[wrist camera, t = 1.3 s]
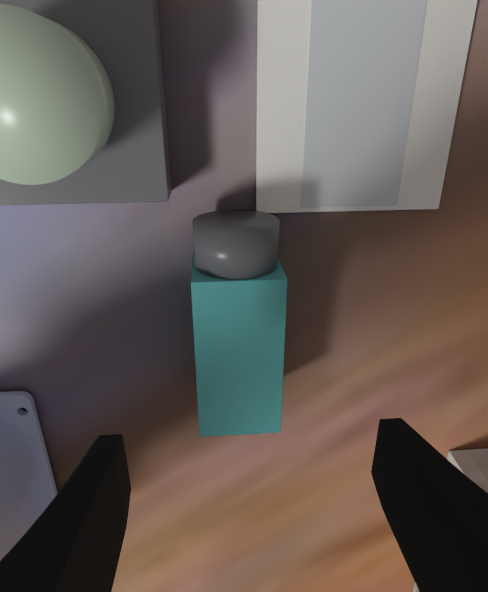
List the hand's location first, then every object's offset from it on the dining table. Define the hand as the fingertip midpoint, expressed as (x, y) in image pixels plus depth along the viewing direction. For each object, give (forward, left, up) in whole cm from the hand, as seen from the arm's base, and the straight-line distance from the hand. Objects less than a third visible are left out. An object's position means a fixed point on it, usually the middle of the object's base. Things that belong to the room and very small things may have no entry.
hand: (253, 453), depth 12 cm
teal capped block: (0, 0, -9) cm, 9 cm away
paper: (+9, -5, -9) cm, 14 cm away
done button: (+9, +6, -7) cm, 13 cm away
